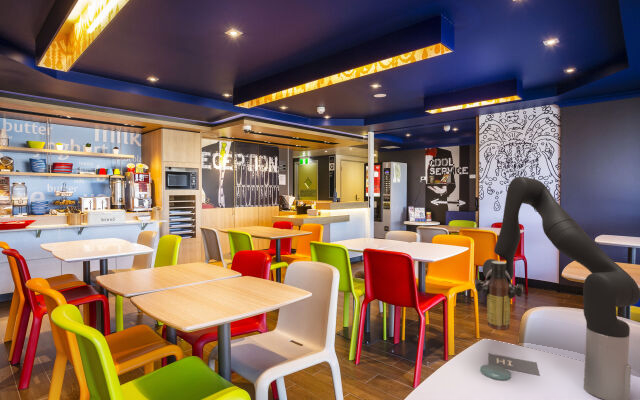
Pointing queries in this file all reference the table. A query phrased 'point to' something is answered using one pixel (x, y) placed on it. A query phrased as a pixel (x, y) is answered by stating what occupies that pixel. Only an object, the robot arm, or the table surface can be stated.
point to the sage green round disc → (495, 372)
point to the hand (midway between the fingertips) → (498, 293)
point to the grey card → (513, 364)
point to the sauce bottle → (498, 298)
